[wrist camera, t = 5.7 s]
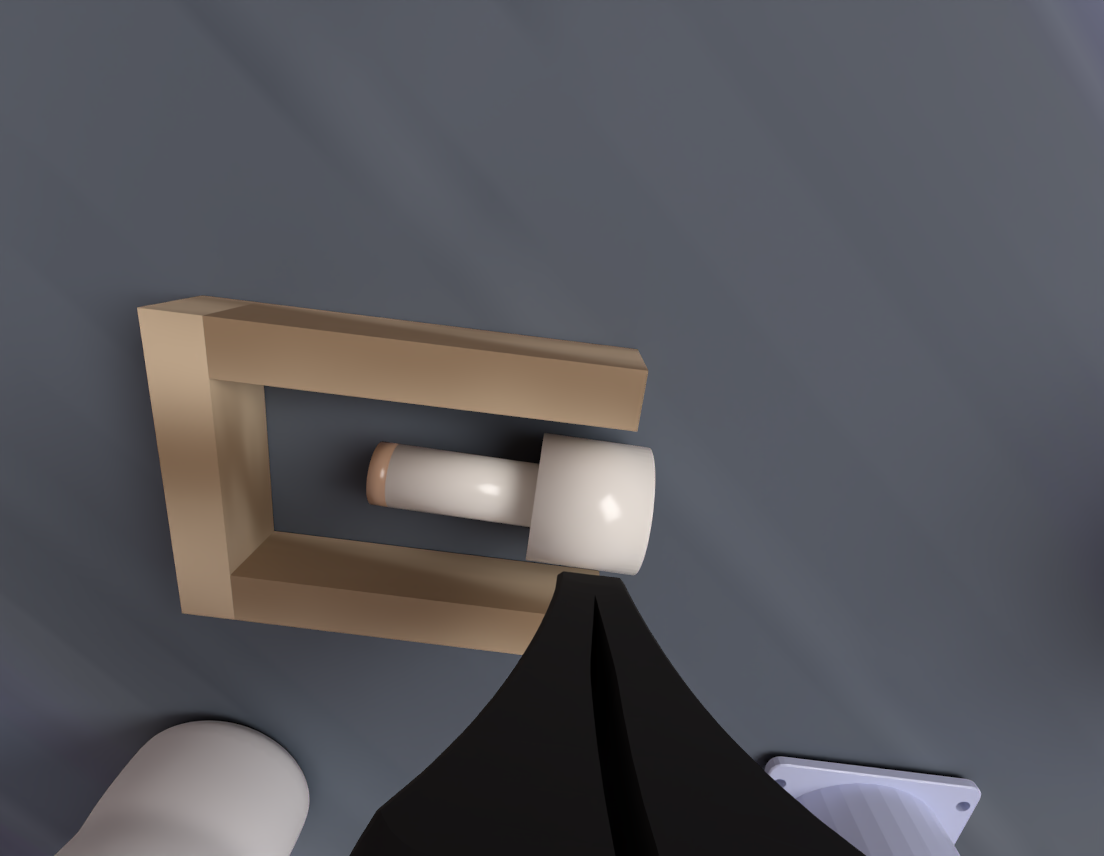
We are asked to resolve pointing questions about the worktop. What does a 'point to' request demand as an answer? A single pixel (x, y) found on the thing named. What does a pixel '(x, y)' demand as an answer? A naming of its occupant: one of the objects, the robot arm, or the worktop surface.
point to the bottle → (534, 496)
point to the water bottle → (200, 798)
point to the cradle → (361, 371)
